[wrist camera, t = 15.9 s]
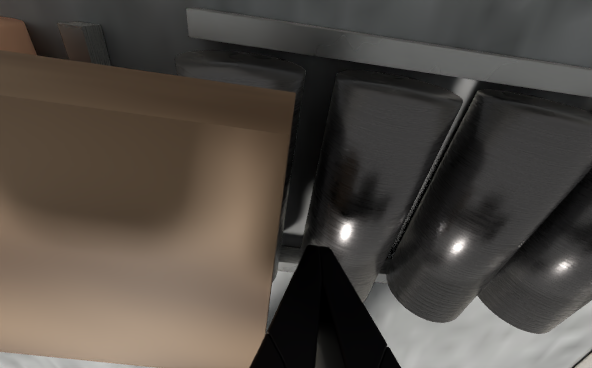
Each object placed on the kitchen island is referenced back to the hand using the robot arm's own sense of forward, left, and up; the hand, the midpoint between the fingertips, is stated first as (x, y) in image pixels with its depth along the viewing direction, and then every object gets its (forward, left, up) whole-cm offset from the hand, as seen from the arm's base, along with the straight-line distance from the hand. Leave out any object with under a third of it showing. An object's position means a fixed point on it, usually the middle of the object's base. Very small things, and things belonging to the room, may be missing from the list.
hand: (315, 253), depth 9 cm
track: (0, +1, -5) cm, 5 cm away
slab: (0, +8, -1) cm, 8 cm away
